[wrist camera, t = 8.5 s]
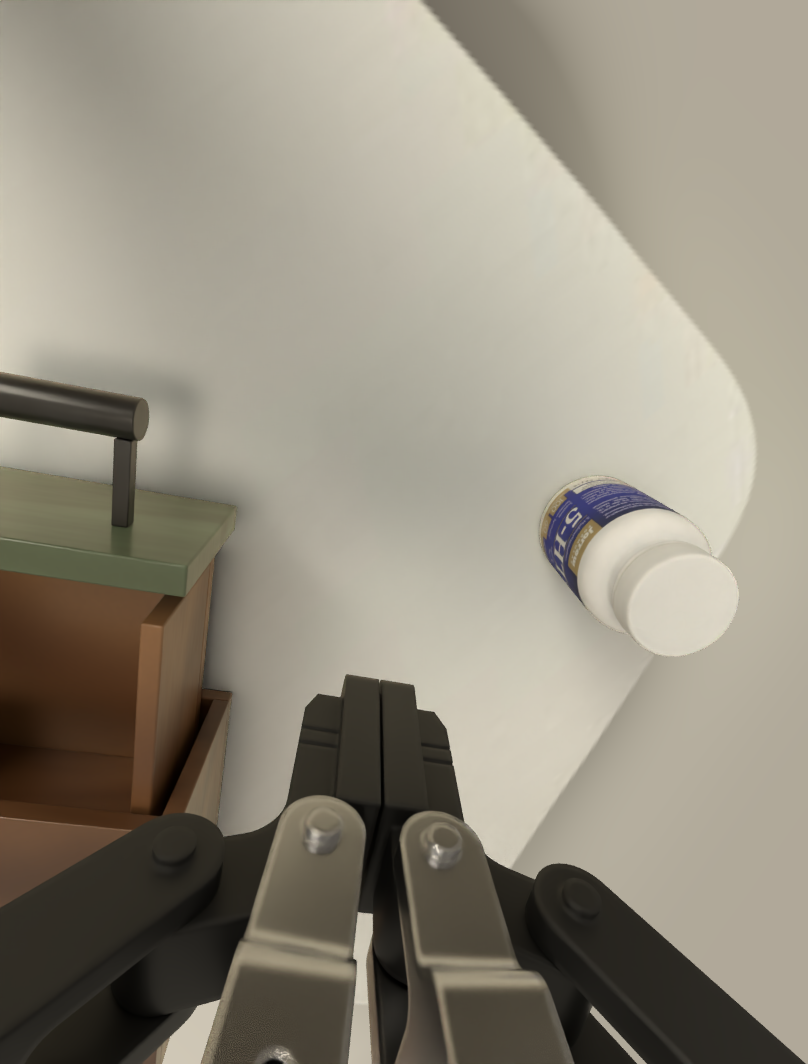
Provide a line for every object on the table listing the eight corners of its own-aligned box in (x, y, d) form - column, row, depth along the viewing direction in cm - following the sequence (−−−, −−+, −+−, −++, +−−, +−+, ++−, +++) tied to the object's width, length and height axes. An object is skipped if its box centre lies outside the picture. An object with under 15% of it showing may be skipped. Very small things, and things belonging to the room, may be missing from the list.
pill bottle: (533, 482, 27) (608, 546, 18) (641, 466, 27) (764, 522, 18) (539, 583, 29) (610, 683, 20) (641, 568, 29) (754, 661, 20)
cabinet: (-43, 655, 28) (-226, 794, 19) (232, 691, 30) (176, 835, 21) (-29, 886, 33) (-172, 1079, 24) (207, 906, 34) (152, 1095, 26)
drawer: (-62, 341, 23) (-253, 341, 16) (248, 400, 24) (199, 423, 17) (-39, 734, 28) (-170, 859, 22) (210, 762, 30) (161, 889, 23)
